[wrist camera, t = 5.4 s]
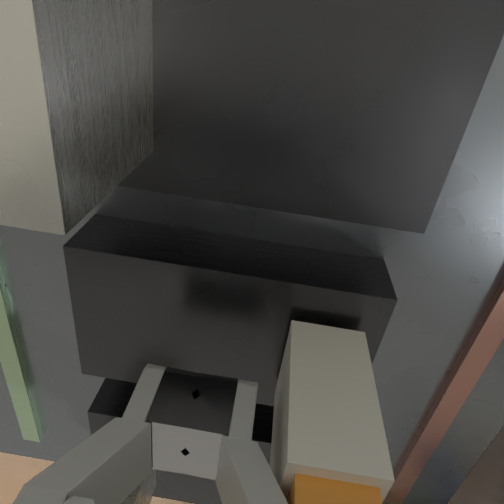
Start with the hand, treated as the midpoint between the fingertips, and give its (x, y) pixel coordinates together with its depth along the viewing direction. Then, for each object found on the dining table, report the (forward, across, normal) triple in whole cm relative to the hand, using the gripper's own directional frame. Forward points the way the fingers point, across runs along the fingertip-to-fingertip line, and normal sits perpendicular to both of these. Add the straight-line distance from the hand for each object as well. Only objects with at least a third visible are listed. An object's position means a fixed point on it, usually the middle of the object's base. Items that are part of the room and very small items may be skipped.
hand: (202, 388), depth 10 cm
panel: (+6, 0, 0) cm, 6 cm away
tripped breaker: (+2, -3, 0) cm, 3 cm away
